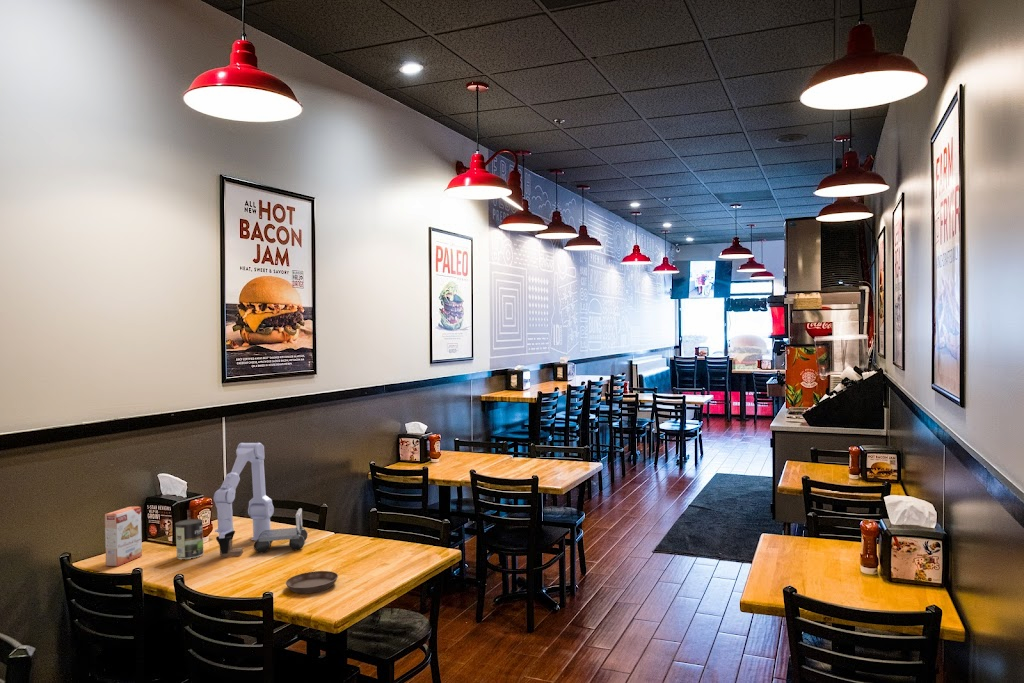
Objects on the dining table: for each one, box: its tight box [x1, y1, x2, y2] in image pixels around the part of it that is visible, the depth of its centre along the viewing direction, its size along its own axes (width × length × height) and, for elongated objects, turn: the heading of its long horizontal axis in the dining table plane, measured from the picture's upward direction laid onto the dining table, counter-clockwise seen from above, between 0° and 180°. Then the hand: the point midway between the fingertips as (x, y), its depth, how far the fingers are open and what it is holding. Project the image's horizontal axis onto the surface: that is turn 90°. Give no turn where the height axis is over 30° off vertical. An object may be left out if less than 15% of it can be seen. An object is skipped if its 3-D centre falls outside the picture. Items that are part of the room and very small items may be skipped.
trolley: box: [253, 507, 308, 554], centre depth 302 cm, size 13×20×15 cm, turn 100°
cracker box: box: [104, 506, 143, 567], centre depth 290 cm, size 14×6×21 cm, turn 168°
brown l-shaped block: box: [219, 539, 244, 558], centre depth 293 cm, size 4×8×6 cm, turn 100°
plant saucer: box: [285, 570, 339, 594], centre depth 250 cm, size 18×18×3 cm
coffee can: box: [174, 518, 205, 560], centre depth 294 cm, size 10×10×14 cm
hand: (226, 551), depth 293 cm, fingers open, 5 cm apart
